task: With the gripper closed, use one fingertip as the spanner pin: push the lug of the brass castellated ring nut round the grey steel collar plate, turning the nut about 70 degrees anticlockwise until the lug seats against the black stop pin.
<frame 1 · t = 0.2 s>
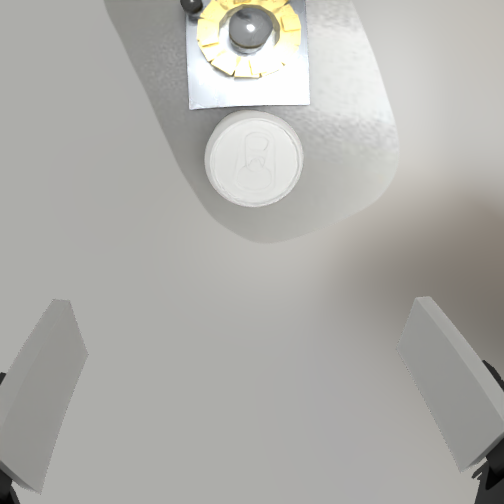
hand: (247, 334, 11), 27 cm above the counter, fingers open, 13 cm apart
collar plate: (246, 38, 29), on the counter
beverage can: (246, 144, 34), on the counter
ring nut: (263, 13, 25), point 3 cm above the counter, hinge at -70.0°
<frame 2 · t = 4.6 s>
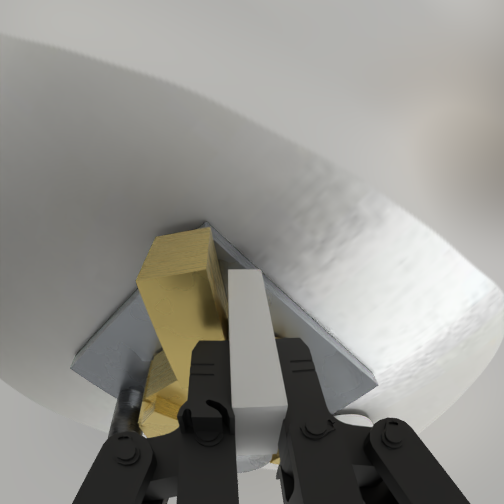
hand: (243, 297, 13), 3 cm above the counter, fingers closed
collar plate: (228, 374, 19), on the counter
beverage can: (326, 432, 24), on the counter
ring nut: (220, 389, 15), point 3 cm above the counter, hinge at -69.1°, touching gripper
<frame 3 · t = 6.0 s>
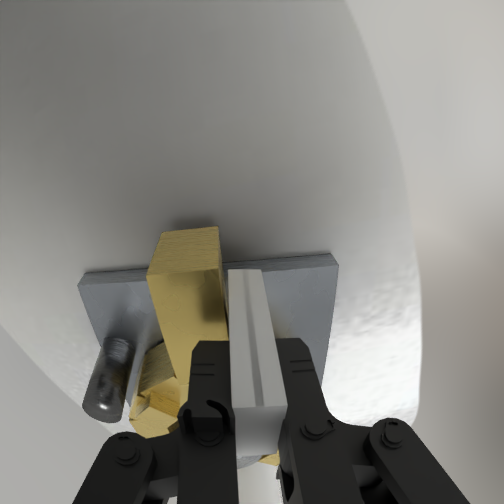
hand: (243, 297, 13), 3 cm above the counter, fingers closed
collar plate: (219, 373, 19), on the counter
beverage can: (229, 453, 25), on the counter
ring nut: (213, 387, 15), point 3 cm above the counter, hinge at -33.5°, touching gripper
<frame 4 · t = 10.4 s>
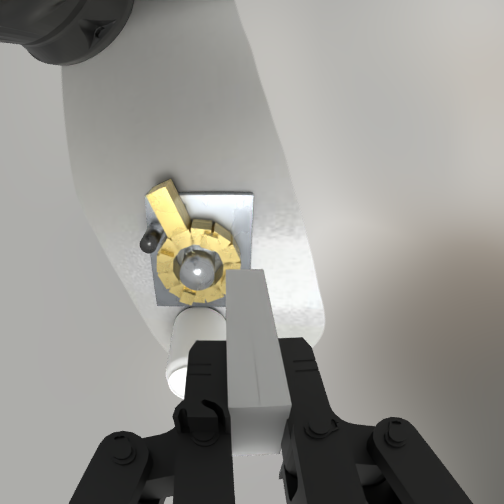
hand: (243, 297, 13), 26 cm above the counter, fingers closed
collar plate: (200, 251, 41), on the counter
beverage can: (201, 324, 47), on the counter
ring nut: (188, 245, 37), point 3 cm above the counter, hinge at -11.1°
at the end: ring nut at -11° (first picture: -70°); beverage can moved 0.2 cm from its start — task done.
